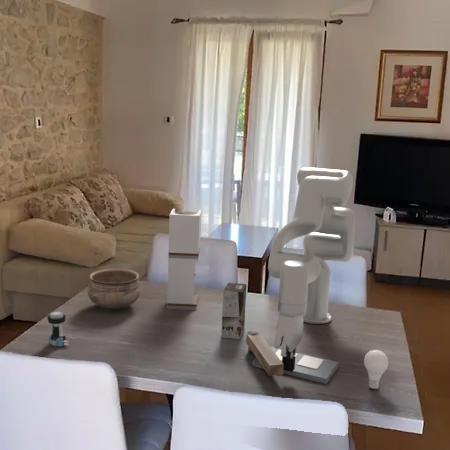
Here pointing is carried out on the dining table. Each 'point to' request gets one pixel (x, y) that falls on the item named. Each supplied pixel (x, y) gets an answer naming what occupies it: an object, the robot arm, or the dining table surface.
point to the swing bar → (264, 353)
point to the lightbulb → (375, 366)
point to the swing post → (249, 350)
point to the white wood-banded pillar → (183, 259)
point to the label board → (308, 367)
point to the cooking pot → (114, 288)
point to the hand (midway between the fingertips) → (288, 369)
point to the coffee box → (233, 310)
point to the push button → (56, 328)
